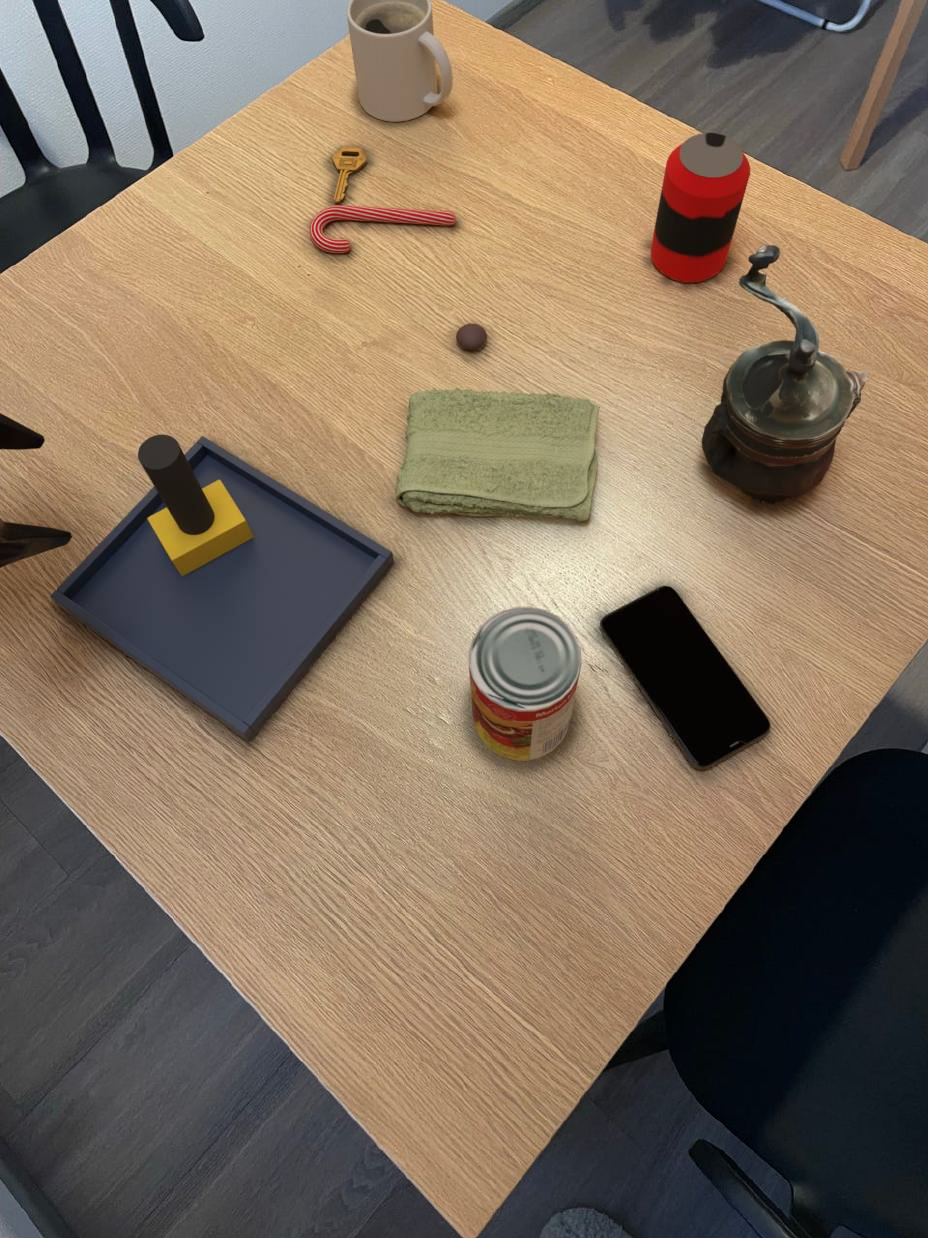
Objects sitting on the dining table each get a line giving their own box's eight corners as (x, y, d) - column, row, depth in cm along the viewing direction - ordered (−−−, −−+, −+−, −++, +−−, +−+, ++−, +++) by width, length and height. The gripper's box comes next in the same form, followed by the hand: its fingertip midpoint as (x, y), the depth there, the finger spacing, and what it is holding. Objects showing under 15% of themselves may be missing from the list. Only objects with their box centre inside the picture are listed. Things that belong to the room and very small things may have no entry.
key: (321, 202, 103) (321, 199, 102) (335, 148, 106) (335, 145, 106) (356, 204, 102) (356, 201, 102) (369, 150, 106) (369, 147, 105)
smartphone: (594, 623, 81) (696, 776, 76) (595, 619, 81) (698, 773, 75) (668, 584, 83) (774, 731, 77) (670, 580, 82) (777, 728, 76)
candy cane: (450, 262, 99) (450, 251, 98) (306, 254, 100) (303, 243, 99) (457, 218, 101) (456, 207, 100) (315, 211, 102) (313, 200, 101)
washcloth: (593, 529, 85) (596, 510, 82) (394, 516, 86) (390, 497, 84) (598, 407, 91) (602, 385, 88) (411, 397, 92) (408, 375, 89)
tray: (249, 742, 78) (243, 734, 76) (59, 606, 84) (48, 596, 82) (394, 563, 85) (392, 551, 83) (208, 448, 90) (202, 435, 88)
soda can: (730, 234, 99) (759, 131, 88) (720, 290, 96) (748, 190, 85) (656, 222, 100) (675, 119, 89) (644, 277, 97) (662, 177, 86)
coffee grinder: (758, 369, 92) (813, 219, 76) (852, 487, 86) (934, 352, 70) (641, 421, 90) (673, 278, 74) (730, 546, 84) (785, 421, 68)
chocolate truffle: (489, 352, 94) (489, 340, 92) (458, 356, 94) (458, 345, 92) (484, 328, 95) (484, 316, 94) (454, 332, 95) (453, 321, 94)
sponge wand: (182, 577, 84) (130, 496, 72) (157, 535, 86) (103, 450, 74) (253, 537, 85) (214, 452, 74) (228, 497, 87) (185, 408, 75)
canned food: (508, 651, 81) (509, 586, 70) (589, 701, 79) (603, 643, 68) (453, 726, 78) (446, 670, 67) (535, 780, 76) (541, 732, 65)
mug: (351, 77, 111) (338, -11, 102) (431, 60, 112) (426, -29, 103) (372, 141, 106) (361, 55, 97) (456, 123, 107) (452, 36, 98)
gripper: (-128, 491, 53) (135, 522, 65) (-172, 257, 61) (71, 323, 72) (-183, 605, 59) (67, 615, 71) (-217, 380, 67) (14, 422, 78)
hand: (55, 489), depth 73 cm, fingers open, 9 cm apart
